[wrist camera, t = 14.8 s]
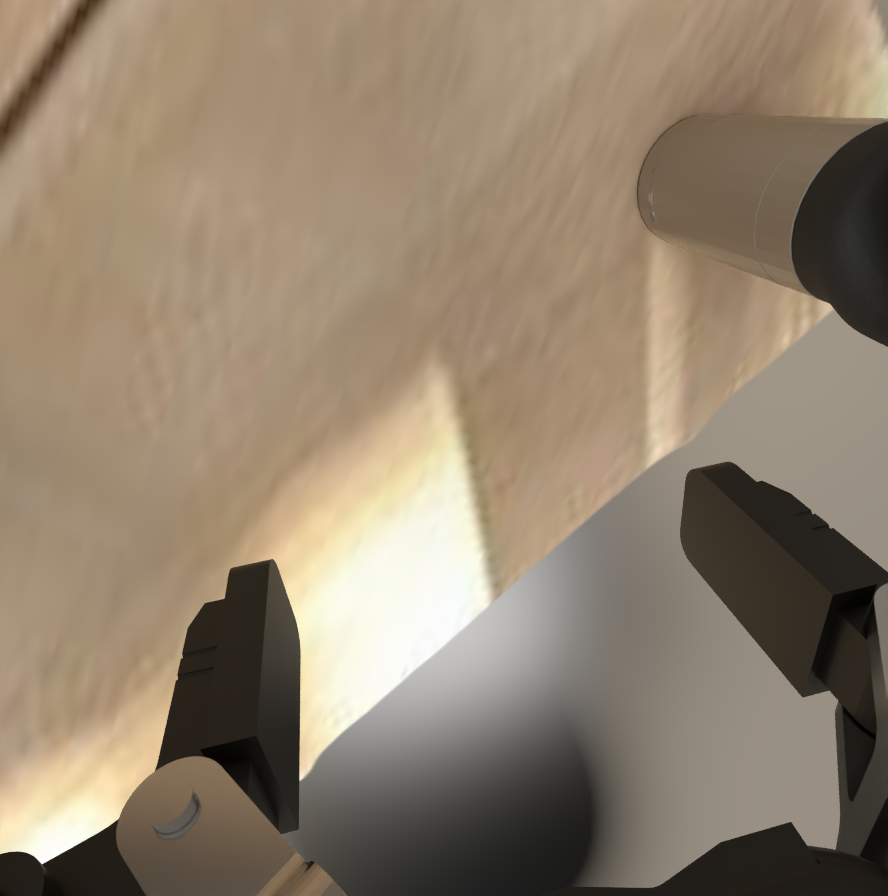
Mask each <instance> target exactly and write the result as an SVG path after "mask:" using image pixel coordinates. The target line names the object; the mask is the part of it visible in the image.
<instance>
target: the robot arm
mask: <svg viewBox="0 0 888 896" xmlns="http://www.w3.org/2000/svg"><path fill="white" fill-rule="evenodd" d="M638 204H639V208H640V212H641V216H642V218H643V220H644V222H645V224H646V225H647V227H648V228H649V229H650V230H651V231H652V232H653V234H654V235H656V236H658V237H659V238H661V239H662V240H664V241H667V242H670V243H672V244H675V245H678V246H680V247H683V248H686V249H688V250H690V251H693V252H695V253H698V254H701V255H703V256H706V257H708V258H711V259H714V260H716V261H719V262H722V263H724V264H727V265H729V266H732V267H735V268H737V269H740V270H743V271H745V272H748V273H751V274H753V275H756V276H758V277H761V278H764V279H766V280H769V281H772V282H774V283H777V284H779V285H782V286H785V287H788V288H791V289H793V290H796V291H799V292H801V293H804V294H806V295H809V296H812V297H814V298H817V299H820V300H822V301H825V302H827V303H830V304H831V305H832V307H833V308H834V309H835V310H836V312H837V313H838V314H839V315H840V317H841V318H842V319H843V320H844V321H845V322H846V323H847V324H848V325H850V326H851V327H852V328H853V329H855V330H857V331H858V332H860V333H861V334H863V335H865V336H867V337H869V338H871V339H873V340H875V341H877V342H879V343H881V344H883V345H885V346H887V347H888V119H883V118H833V117H795V116H758V115H733V114H701V115H694V116H691V117H689V118H686V119H684V120H681V121H680V122H678V123H677V124H675V125H674V126H672V127H671V128H669V129H668V130H667V131H666V132H665V133H664V134H663V135H662V136H661V137H660V138H659V139H658V141H657V142H656V144H655V145H654V146H653V148H652V149H651V150H650V152H649V154H648V156H647V158H646V160H645V162H644V165H643V168H642V171H641V175H640V178H639V186H638ZM680 538H681V543H682V547H683V550H684V552H685V555H686V556H687V558H688V560H689V561H690V563H691V564H692V565H693V566H694V568H695V569H696V570H697V571H698V573H699V574H700V575H701V576H702V577H703V579H704V580H705V581H706V582H707V583H708V584H709V586H710V587H711V588H712V589H713V590H714V592H715V593H716V594H717V595H718V597H719V598H720V599H721V600H722V601H723V603H724V604H725V605H726V606H727V607H728V608H729V610H730V611H731V612H732V613H733V615H734V616H735V617H736V618H737V619H738V621H739V622H740V623H741V624H742V625H743V626H744V628H745V629H746V630H747V631H748V632H749V634H750V635H751V636H752V637H753V638H754V640H755V641H756V642H757V643H758V644H759V646H760V647H761V648H762V649H763V651H765V653H766V654H767V655H768V657H769V658H770V659H771V660H772V661H773V662H774V664H775V665H776V666H777V667H778V669H779V670H780V671H781V672H782V673H783V674H784V676H785V677H786V678H787V679H788V681H789V682H790V683H791V684H792V685H793V686H794V688H795V689H796V690H797V691H798V693H799V694H800V695H801V696H802V697H806V696H810V695H814V694H817V693H821V692H825V691H829V690H830V692H831V693H832V694H833V695H834V696H835V697H836V698H837V699H838V703H837V706H836V709H835V727H836V745H837V764H838V780H839V781H838V782H839V801H840V824H839V833H838V838H837V844H836V850H833V849H827V848H821V847H814V846H807V845H806V843H805V842H804V841H803V839H802V838H801V836H800V834H799V833H798V832H797V830H796V829H795V827H794V826H793V824H792V823H791V822H789V823H786V824H782V825H779V826H776V827H772V828H769V829H765V830H762V831H758V832H755V833H751V834H748V835H745V836H741V837H738V838H734V839H731V840H728V841H724V842H721V843H719V844H718V845H716V846H715V847H714V848H712V849H711V850H709V851H708V852H707V853H705V854H704V855H702V856H701V857H700V858H698V859H697V860H695V861H694V862H693V863H691V864H690V865H688V866H687V867H686V868H684V869H683V870H681V871H680V872H679V873H677V874H676V875H674V876H673V877H672V878H670V879H669V880H668V881H666V882H665V883H663V884H661V885H660V886H657V887H654V888H613V887H611V888H610V887H566V888H562V889H559V890H556V891H552V892H549V893H545V894H542V895H538V896H888V572H887V571H885V570H884V569H883V568H882V567H881V566H879V565H878V564H877V563H876V562H874V561H873V560H872V559H871V558H869V557H868V556H867V555H866V554H865V553H863V552H862V551H861V550H860V549H858V548H857V547H856V546H855V545H853V544H852V543H851V542H850V541H848V540H847V539H846V538H845V537H843V536H842V535H841V534H840V533H839V532H837V531H836V530H835V529H834V528H832V529H830V528H829V525H828V524H827V523H826V522H825V521H823V519H821V518H820V517H819V516H817V515H816V514H812V512H811V510H810V509H809V508H808V507H806V506H805V505H804V504H803V503H802V502H800V501H799V500H798V499H797V498H795V497H794V496H793V495H792V494H790V493H788V492H786V491H784V490H781V489H779V488H777V487H775V486H773V485H770V484H768V483H766V482H764V481H759V482H756V481H755V480H754V479H752V478H751V477H750V476H749V475H748V474H746V473H745V472H744V471H743V470H742V469H740V468H739V467H738V466H737V465H735V464H734V463H732V462H724V463H719V464H715V465H710V466H706V467H701V468H696V469H692V470H690V471H689V472H688V474H687V477H686V481H685V491H684V500H683V509H682V518H681V528H680ZM182 655H183V658H182V659H181V661H180V666H179V670H178V680H176V683H175V688H174V692H173V697H172V701H171V706H170V710H169V715H168V719H167V724H166V728H165V733H164V737H163V741H162V746H161V750H160V755H159V759H158V763H157V767H156V770H155V772H154V773H152V774H151V775H150V776H148V777H147V778H146V779H145V780H144V781H143V782H142V783H141V784H140V785H139V786H138V787H137V788H136V790H135V791H134V792H133V793H132V795H131V796H130V798H129V799H128V800H127V802H126V804H125V806H124V808H123V810H122V812H121V815H120V817H119V819H118V820H117V821H115V822H114V823H113V824H111V825H110V826H109V827H107V828H105V829H104V830H102V831H101V832H99V833H97V834H96V835H94V836H92V837H90V838H89V839H87V840H85V841H83V842H81V843H80V844H78V845H76V846H74V847H73V848H71V849H69V850H67V851H65V852H64V853H62V854H60V855H58V856H56V857H55V858H53V859H51V860H49V861H48V862H46V863H44V864H41V863H40V862H39V861H38V860H37V859H36V858H35V857H34V856H32V855H30V854H28V853H24V852H8V853H3V854H0V896H347V895H346V894H345V893H344V892H343V891H342V890H341V889H340V888H339V886H338V885H337V884H336V883H335V882H334V881H333V880H332V879H331V877H330V876H329V875H328V874H327V873H326V872H325V871H324V870H323V869H322V868H321V867H319V866H318V865H317V864H316V863H314V862H312V861H311V862H310V863H308V862H306V861H305V860H304V859H303V858H302V857H301V856H300V855H299V854H298V853H297V852H296V851H295V849H294V848H293V847H292V846H291V845H290V844H289V843H288V841H287V840H286V839H285V838H284V837H283V836H282V835H281V834H283V833H287V832H291V831H295V830H298V829H299V749H300V640H299V633H298V628H297V623H296V620H295V616H294V614H293V611H292V608H291V605H290V602H289V599H288V596H287V593H286V590H285V587H284V584H283V581H282V578H281V576H280V573H279V570H278V567H277V565H276V563H275V561H274V560H273V559H271V560H266V561H262V562H257V563H252V564H248V565H243V566H239V567H234V568H231V569H230V572H229V576H228V582H227V588H226V594H225V599H222V600H218V601H213V602H209V603H205V604H204V605H203V607H202V608H201V610H200V611H199V613H198V614H197V616H196V617H195V619H194V620H193V621H192V623H191V624H190V626H189V627H188V630H187V634H186V639H185V643H184V648H183V652H182Z"/></svg>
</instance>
